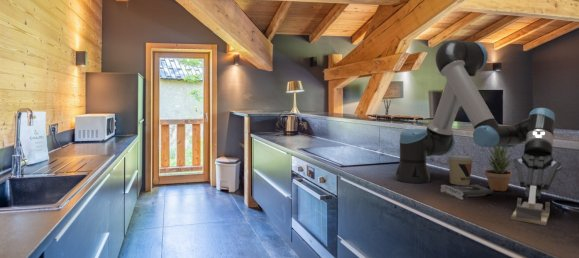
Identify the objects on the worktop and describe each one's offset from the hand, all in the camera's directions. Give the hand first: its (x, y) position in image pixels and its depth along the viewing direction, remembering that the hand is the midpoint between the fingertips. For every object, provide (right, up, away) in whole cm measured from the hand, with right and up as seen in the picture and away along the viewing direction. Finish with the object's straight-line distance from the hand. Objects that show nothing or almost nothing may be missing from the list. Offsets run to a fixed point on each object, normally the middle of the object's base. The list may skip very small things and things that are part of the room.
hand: (531, 205), depth 103 cm
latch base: (+2, -4, +3) cm, 5 cm away
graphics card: (-4, -3, +29) cm, 29 cm away
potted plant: (+13, -2, +37) cm, 39 cm away
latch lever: (+5, -1, +7) cm, 9 cm away
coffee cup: (+2, -1, +47) cm, 48 cm away
